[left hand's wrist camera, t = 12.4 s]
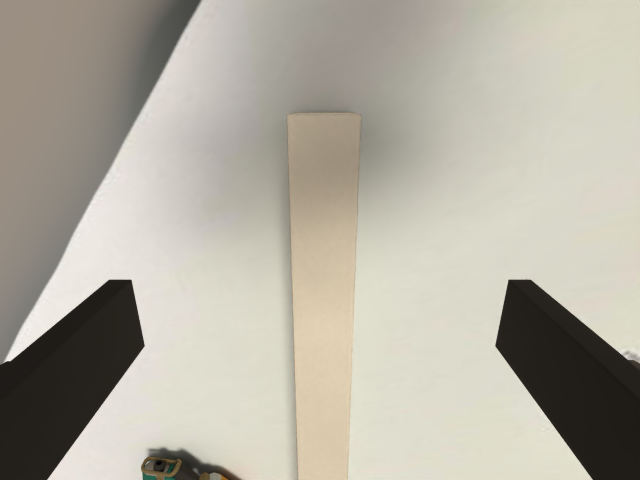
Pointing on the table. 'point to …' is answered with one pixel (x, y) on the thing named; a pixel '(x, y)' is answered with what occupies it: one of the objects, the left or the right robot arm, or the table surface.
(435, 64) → the table surface
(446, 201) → the table surface
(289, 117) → the post
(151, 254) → the table surface
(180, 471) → the spray gun
